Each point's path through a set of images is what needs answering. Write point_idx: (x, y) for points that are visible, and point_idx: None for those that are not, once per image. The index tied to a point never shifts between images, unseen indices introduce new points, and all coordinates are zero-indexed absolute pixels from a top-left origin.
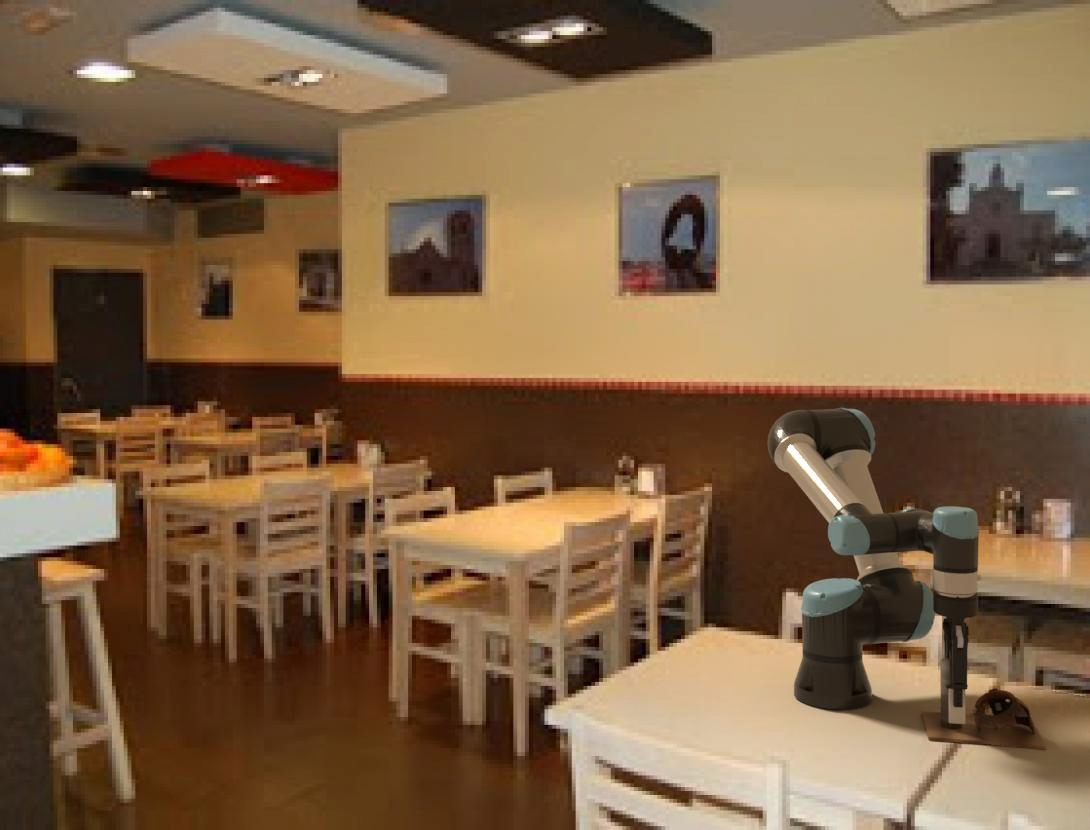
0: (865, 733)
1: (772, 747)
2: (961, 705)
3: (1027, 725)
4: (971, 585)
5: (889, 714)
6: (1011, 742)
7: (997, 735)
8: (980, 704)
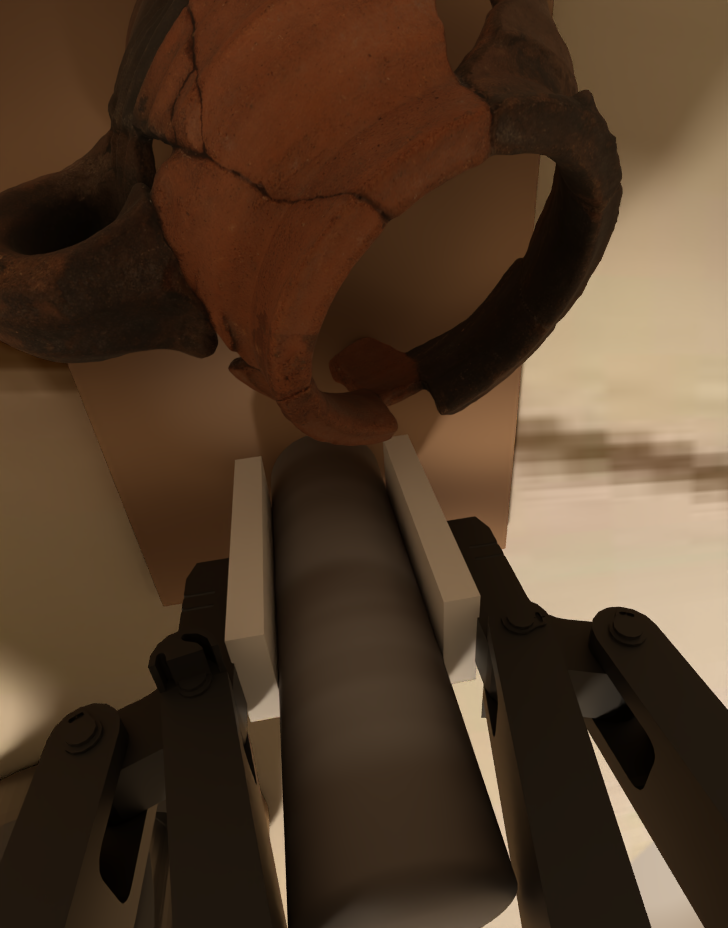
0: (462, 701)
1: None
2: (486, 530)
3: None
4: None
5: None
6: None
7: (413, 235)
8: (369, 411)
